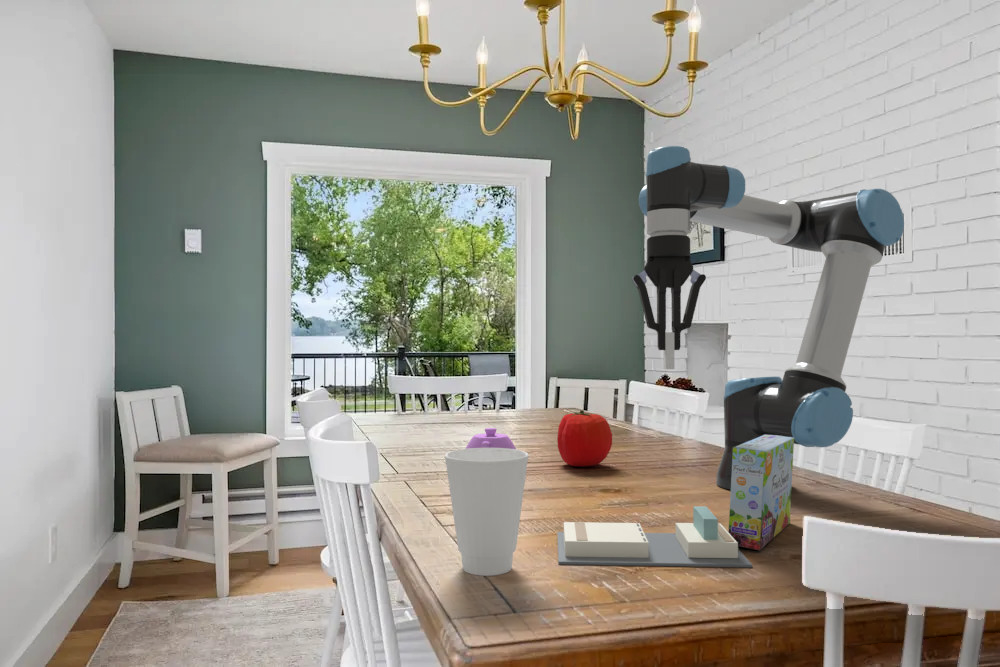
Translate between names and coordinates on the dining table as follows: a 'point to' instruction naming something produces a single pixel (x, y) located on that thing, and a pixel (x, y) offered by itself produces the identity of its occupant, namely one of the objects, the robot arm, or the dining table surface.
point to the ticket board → (629, 547)
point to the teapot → (490, 440)
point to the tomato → (584, 439)
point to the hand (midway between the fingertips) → (669, 368)
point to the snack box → (760, 490)
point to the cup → (486, 505)
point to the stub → (706, 536)
